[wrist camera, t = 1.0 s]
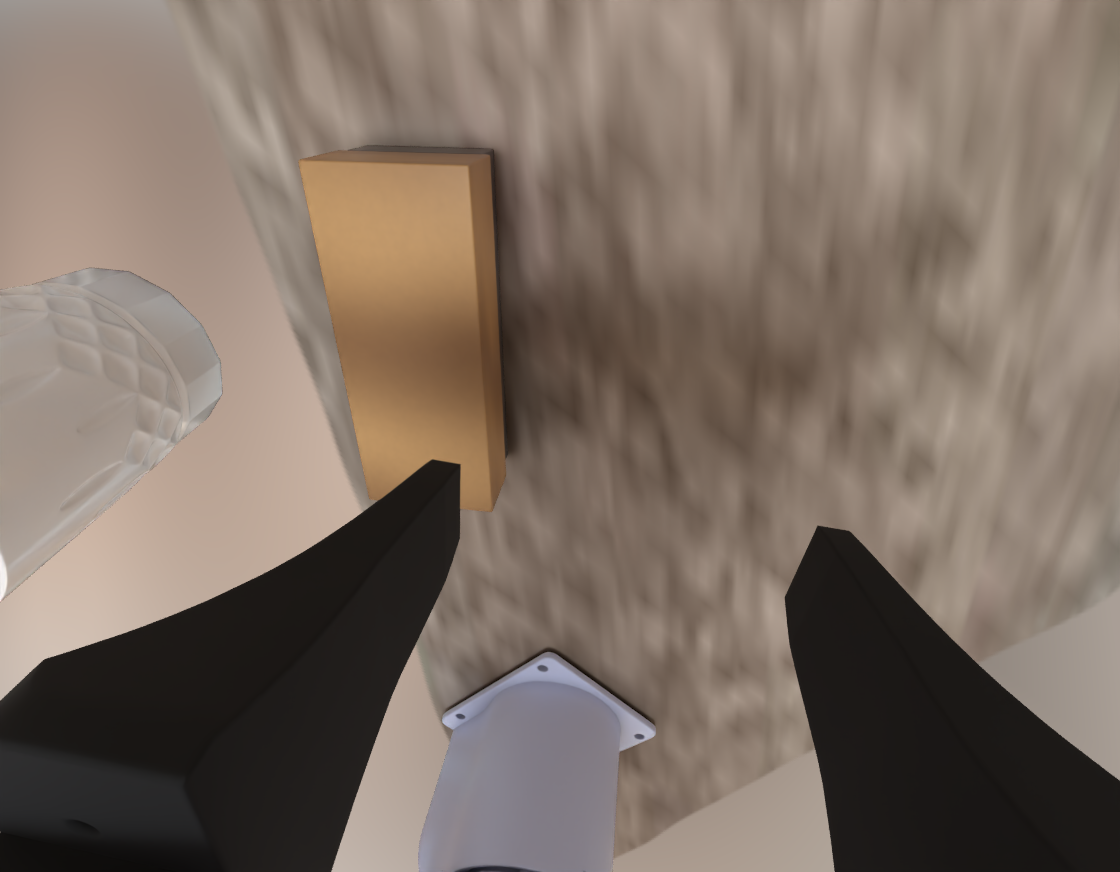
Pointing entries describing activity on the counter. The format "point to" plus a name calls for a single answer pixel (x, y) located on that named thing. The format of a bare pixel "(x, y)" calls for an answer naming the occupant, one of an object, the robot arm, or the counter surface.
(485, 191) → the scrub brush
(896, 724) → the robot arm
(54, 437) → the white cup
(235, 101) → the counter surface
